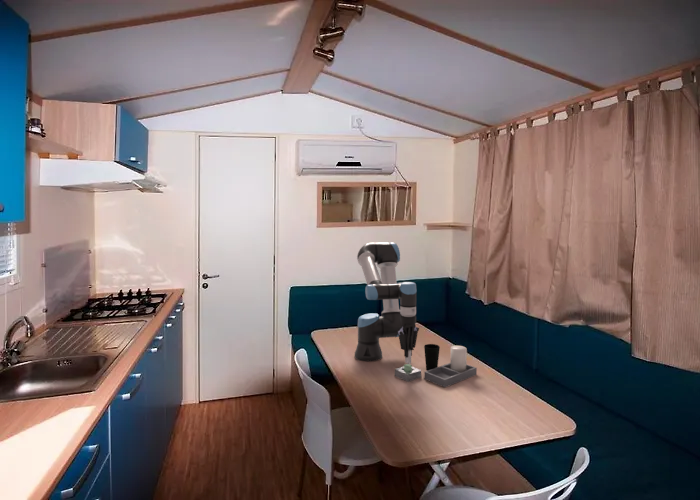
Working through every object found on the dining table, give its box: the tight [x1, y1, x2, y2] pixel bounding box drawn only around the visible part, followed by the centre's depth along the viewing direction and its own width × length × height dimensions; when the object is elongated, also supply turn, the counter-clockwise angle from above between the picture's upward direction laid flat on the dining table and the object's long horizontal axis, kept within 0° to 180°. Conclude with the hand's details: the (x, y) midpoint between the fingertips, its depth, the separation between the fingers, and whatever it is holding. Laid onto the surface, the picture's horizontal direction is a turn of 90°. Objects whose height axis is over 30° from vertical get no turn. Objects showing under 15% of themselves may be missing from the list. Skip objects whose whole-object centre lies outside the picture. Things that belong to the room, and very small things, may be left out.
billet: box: [449, 345, 468, 373], centre depth 203 cm, size 8×8×12 cm
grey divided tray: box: [423, 362, 478, 388], centre depth 200 cm, size 12×24×4 cm, turn 128°
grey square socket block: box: [394, 365, 422, 383], centre depth 200 cm, size 9×9×4 cm
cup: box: [423, 343, 440, 371], centre depth 209 cm, size 8×8×12 cm
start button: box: [403, 363, 413, 372], centre depth 200 cm, size 4×4×4 cm
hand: (408, 363), depth 200 cm, fingers closed
